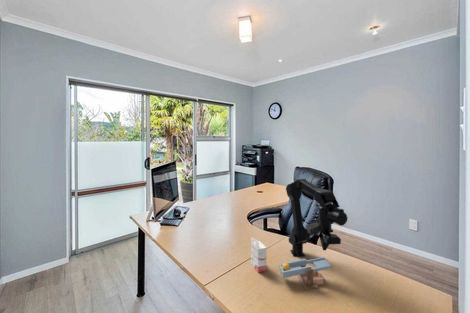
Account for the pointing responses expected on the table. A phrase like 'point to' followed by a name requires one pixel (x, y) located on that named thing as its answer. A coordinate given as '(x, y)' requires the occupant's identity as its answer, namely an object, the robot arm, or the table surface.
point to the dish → (317, 278)
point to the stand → (309, 279)
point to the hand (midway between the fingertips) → (324, 250)
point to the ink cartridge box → (258, 255)
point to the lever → (297, 270)
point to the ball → (286, 266)
